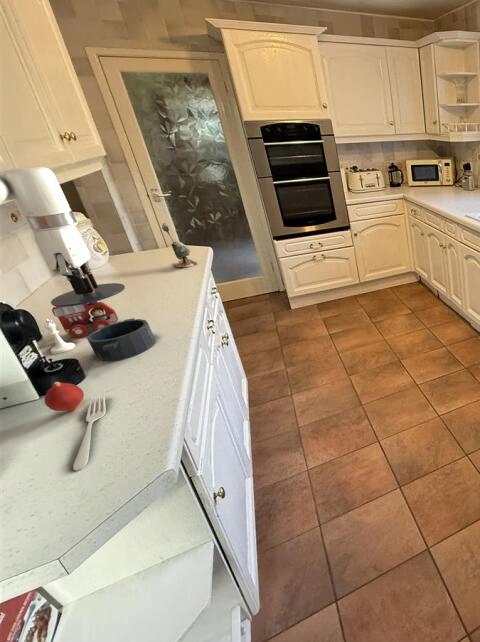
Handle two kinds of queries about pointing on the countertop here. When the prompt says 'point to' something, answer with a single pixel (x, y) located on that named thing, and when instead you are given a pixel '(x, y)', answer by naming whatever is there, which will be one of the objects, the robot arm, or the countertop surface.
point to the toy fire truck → (84, 317)
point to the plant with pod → (180, 251)
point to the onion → (63, 397)
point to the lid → (88, 295)
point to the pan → (121, 340)
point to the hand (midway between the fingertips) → (87, 290)
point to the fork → (88, 435)
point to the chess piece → (57, 339)
